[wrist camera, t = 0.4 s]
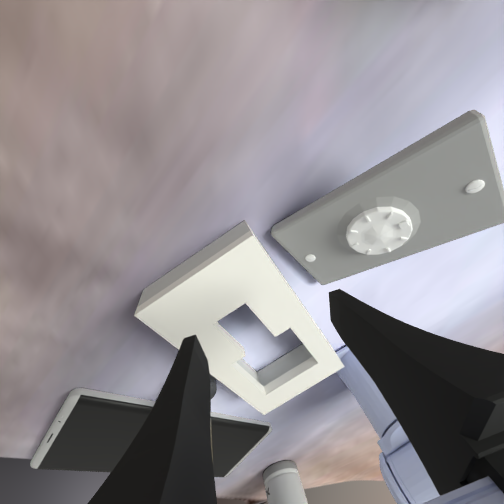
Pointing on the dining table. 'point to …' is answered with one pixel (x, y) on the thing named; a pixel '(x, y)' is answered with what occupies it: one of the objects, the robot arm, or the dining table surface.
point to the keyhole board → (226, 301)
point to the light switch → (401, 204)
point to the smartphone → (130, 434)
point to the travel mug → (284, 484)
